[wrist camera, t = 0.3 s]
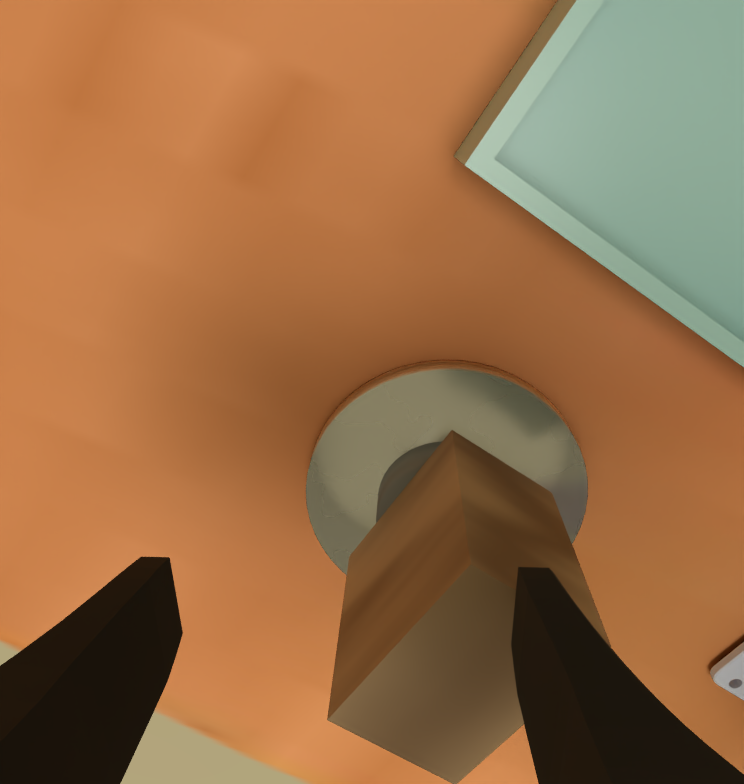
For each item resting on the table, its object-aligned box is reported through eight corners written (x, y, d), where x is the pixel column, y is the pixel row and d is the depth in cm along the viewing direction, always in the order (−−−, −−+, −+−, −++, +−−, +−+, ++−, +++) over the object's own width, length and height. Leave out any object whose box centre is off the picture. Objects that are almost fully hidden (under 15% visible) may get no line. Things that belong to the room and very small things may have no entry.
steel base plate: (639, 456, 23) (649, 471, 22) (470, 629, 26) (472, 648, 25) (409, 304, 21) (409, 312, 20) (261, 512, 24) (256, 527, 23)
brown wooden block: (551, 474, 22) (624, 653, 15) (449, 586, 24) (467, 791, 17) (439, 403, 21) (455, 555, 14) (343, 525, 23) (313, 713, 16)
